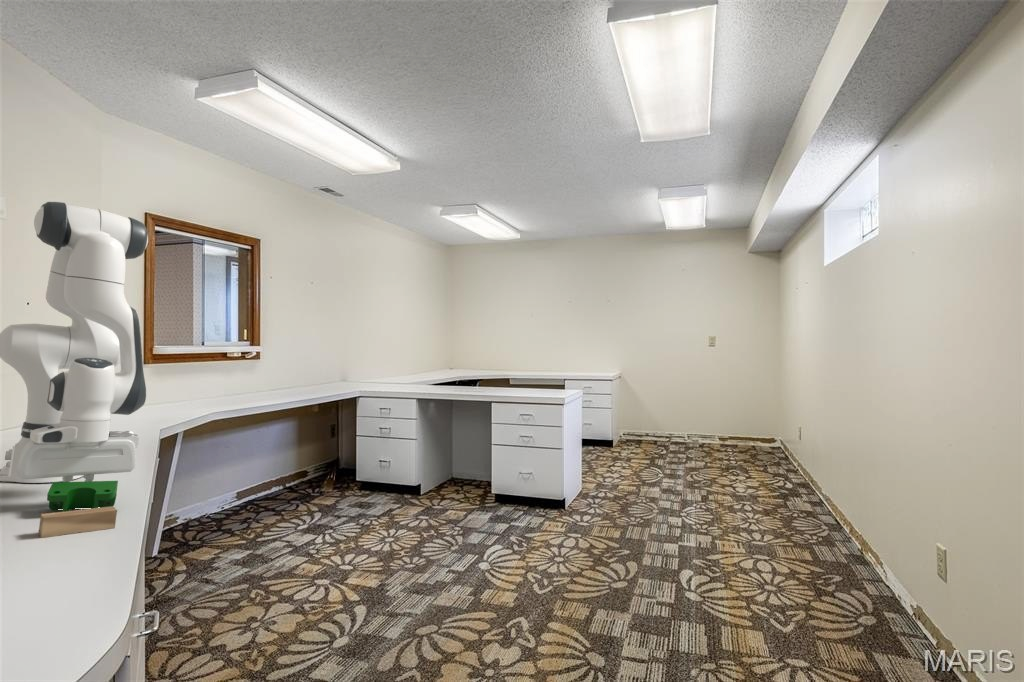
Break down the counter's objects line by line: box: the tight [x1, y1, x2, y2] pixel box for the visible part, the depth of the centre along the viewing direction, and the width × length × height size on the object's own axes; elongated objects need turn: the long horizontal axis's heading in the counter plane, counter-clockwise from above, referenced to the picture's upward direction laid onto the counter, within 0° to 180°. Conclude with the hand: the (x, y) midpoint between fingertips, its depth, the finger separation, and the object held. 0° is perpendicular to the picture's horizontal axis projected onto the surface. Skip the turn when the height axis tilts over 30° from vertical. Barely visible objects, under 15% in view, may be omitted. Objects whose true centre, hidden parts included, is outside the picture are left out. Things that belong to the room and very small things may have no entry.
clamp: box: [46, 480, 119, 512], centre depth 113 cm, size 12×6×9 cm, turn 116°
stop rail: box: [38, 506, 118, 539], centre depth 102 cm, size 3×11×4 cm, turn 140°
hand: (75, 495), depth 117 cm, fingers closed
